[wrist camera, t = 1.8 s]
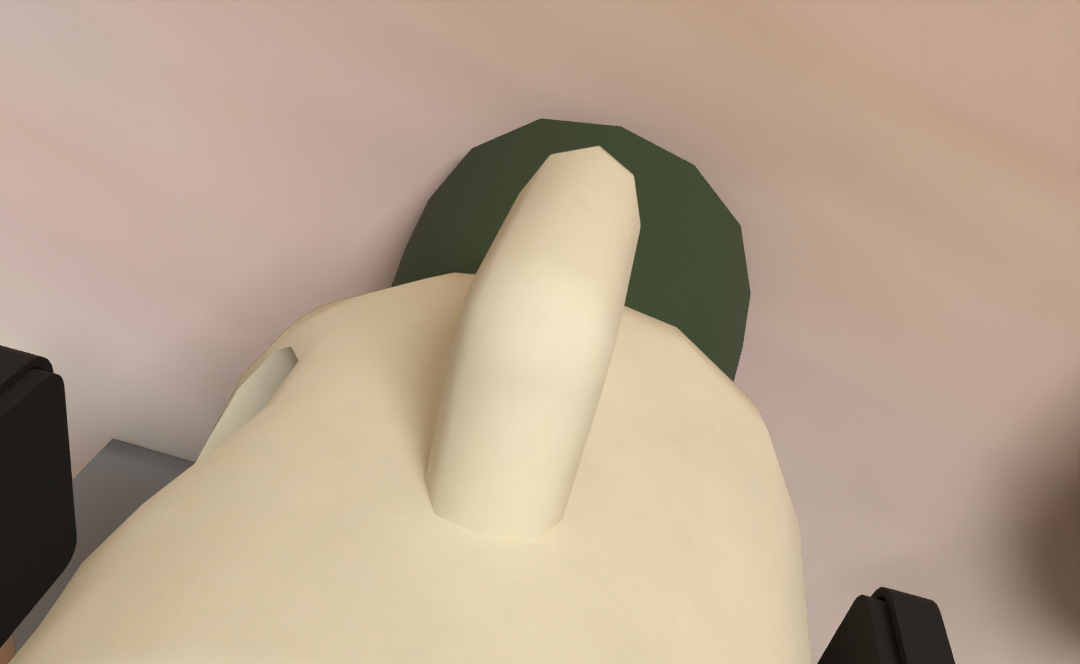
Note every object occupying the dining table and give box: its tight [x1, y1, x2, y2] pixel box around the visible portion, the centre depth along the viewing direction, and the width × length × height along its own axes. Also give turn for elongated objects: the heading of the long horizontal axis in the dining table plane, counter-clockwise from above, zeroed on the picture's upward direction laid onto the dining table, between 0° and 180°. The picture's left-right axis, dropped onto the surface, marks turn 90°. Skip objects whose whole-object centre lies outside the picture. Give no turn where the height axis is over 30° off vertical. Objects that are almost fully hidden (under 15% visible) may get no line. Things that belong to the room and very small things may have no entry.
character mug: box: [8, 119, 812, 664], centre depth 12 cm, size 11×7×13 cm, turn 168°
